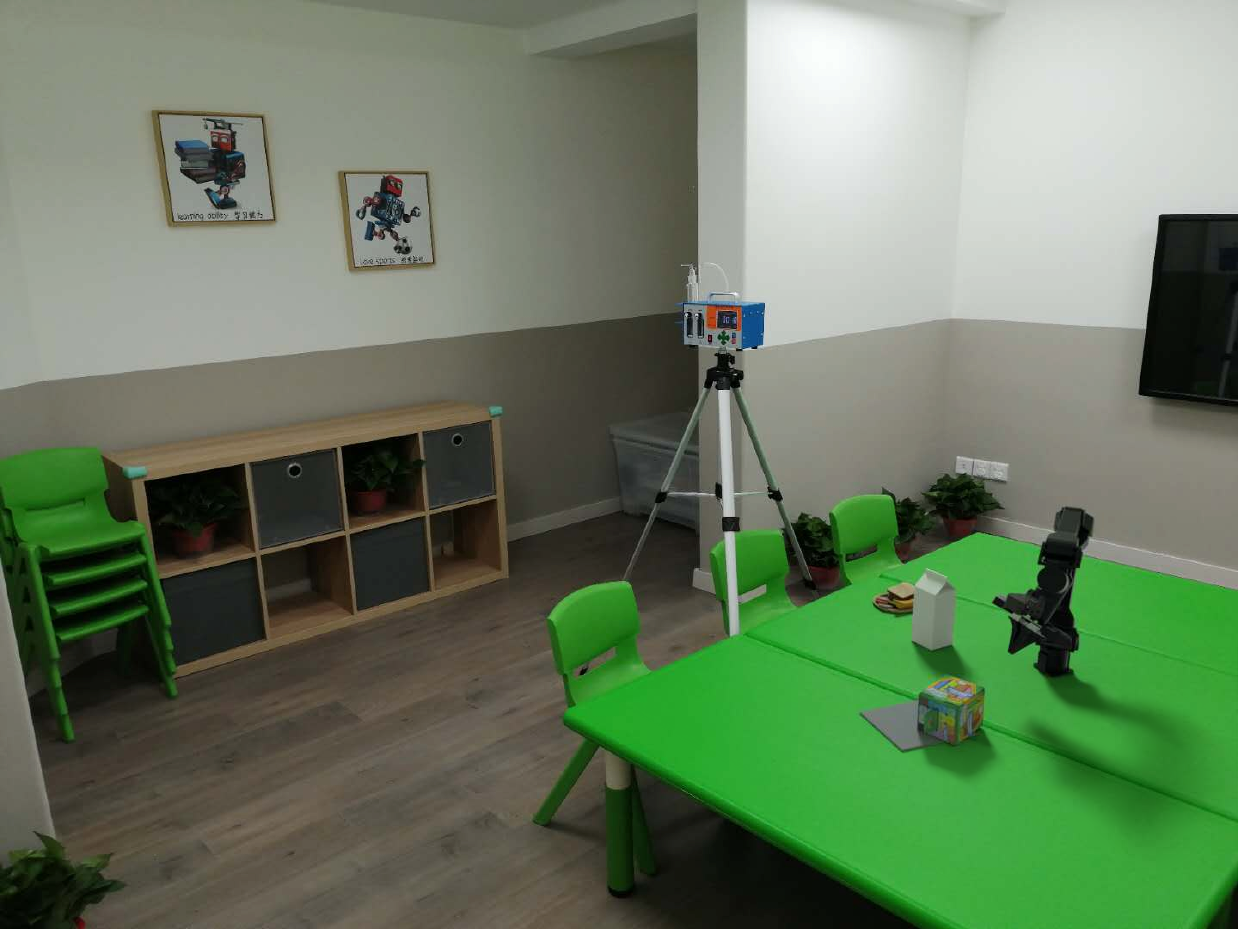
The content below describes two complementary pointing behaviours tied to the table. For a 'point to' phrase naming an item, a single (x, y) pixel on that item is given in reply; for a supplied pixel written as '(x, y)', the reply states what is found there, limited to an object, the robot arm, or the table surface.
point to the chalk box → (951, 709)
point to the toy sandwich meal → (896, 598)
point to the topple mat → (901, 725)
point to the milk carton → (933, 611)
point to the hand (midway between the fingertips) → (1009, 653)
